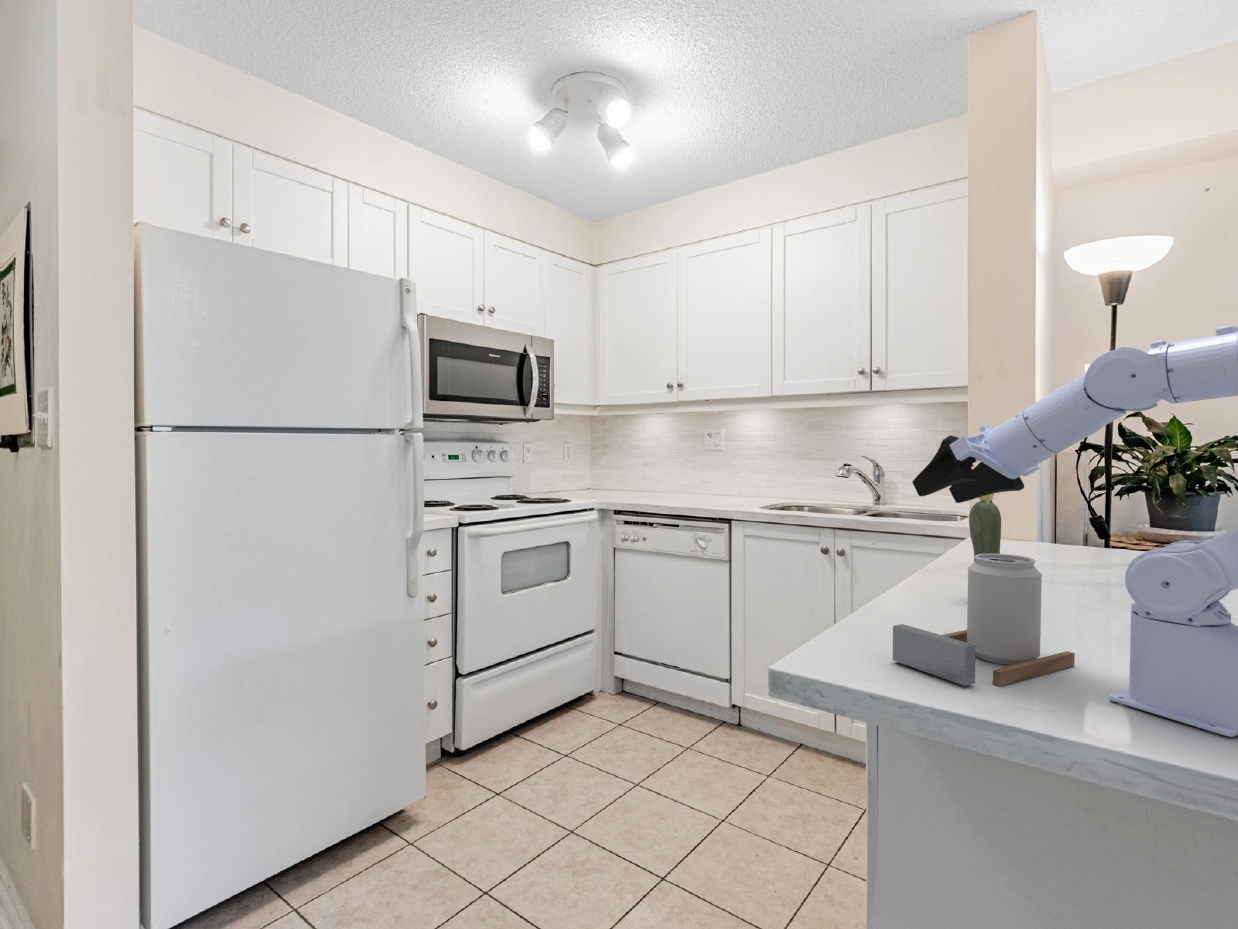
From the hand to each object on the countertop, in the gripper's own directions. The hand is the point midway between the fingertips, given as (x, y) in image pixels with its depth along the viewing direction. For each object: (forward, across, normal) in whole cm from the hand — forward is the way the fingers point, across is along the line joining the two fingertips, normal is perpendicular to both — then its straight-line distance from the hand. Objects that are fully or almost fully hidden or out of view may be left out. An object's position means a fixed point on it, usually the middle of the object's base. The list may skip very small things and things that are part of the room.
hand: (935, 492), depth 80 cm
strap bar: (+7, +6, +20) cm, 22 cm away
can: (+5, -7, +19) cm, 21 cm away
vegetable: (+16, -30, +8) cm, 34 cm away
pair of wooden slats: (+5, -4, +19) cm, 20 cm away
